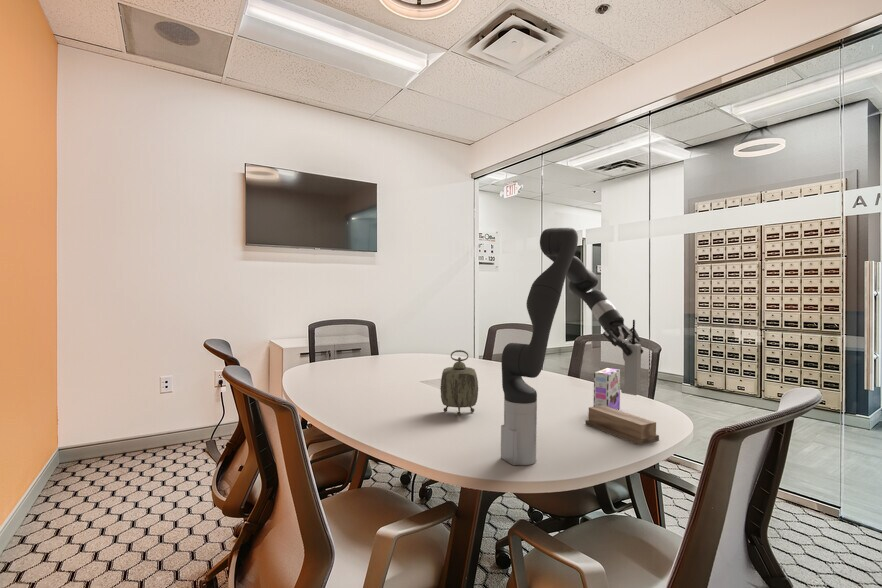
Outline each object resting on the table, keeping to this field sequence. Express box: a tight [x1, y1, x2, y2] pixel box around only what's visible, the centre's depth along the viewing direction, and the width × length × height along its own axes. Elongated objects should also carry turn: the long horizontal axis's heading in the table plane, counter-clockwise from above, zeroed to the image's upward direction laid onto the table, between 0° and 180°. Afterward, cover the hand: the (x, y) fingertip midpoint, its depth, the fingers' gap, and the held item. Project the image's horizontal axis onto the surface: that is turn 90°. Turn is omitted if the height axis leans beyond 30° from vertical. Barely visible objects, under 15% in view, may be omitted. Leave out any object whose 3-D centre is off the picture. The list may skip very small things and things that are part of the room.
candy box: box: [592, 367, 621, 410], centre depth 169 cm, size 14×6×16 cm, turn 137°
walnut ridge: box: [585, 405, 660, 446], centre depth 144 cm, size 10×22×6 cm, turn 27°
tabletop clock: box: [439, 349, 479, 417], centre depth 162 cm, size 14×9×25 cm, turn 88°
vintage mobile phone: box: [620, 319, 642, 396], centre depth 140 cm, size 4×5×25 cm
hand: (635, 353), depth 138 cm, fingers closed on vintage mobile phone, 4 cm apart
